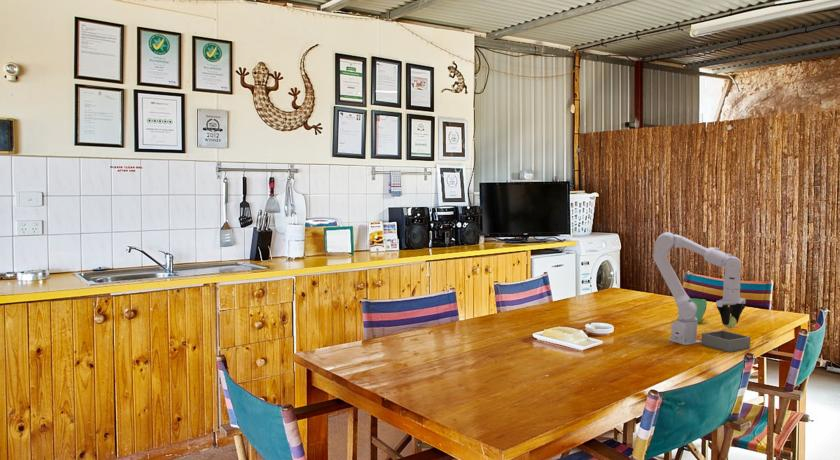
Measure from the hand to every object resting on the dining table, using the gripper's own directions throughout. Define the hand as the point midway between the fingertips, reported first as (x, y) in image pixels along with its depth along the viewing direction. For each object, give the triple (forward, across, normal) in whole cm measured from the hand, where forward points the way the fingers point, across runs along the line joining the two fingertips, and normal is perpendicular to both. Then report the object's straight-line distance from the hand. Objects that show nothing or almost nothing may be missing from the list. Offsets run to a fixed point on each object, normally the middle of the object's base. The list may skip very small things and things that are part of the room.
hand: (730, 323), depth 241 cm
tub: (+9, -2, 0) cm, 9 cm away
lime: (+2, 0, 0) cm, 2 cm away
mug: (+9, +25, +34) cm, 43 cm away
